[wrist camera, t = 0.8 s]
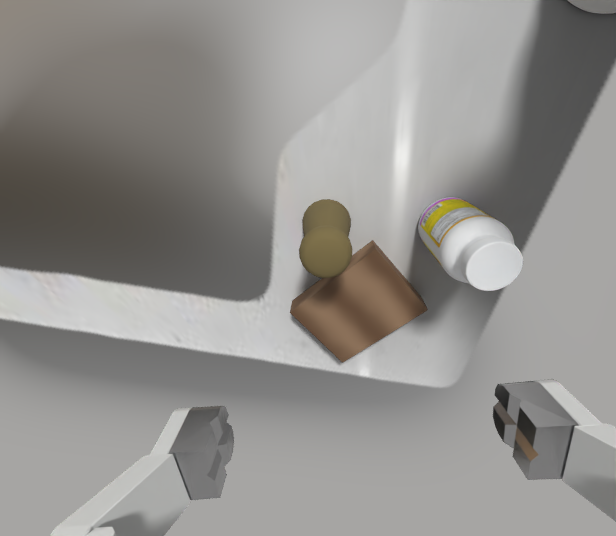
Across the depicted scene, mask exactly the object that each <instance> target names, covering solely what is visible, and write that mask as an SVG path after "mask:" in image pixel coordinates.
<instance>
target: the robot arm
mask: <svg viewBox="0 0 616 536" xmlns="http://www.w3.org/2000/svg"><path fill="white" fill-rule="evenodd" d="M568 1H569V2H570V3H571V4H573V5H574V6H576V7H578V8H580V9H582V10H585V11H588V12H592V13H600V14H610V13H616V0H568ZM495 396H496V397H497V399H498V400H499V402H498V403H497V404H496V405H495V406H494V407H493V419H494V423H495V427H496V429H497V431H498V434H499V435H500V437H501V439H502V440H503V442H504V443H506V444H508V445H509V446H510V447H512V448H514V451H513V458H514V459H515V461H516V462H517V464H518V465H519V467H520V469H521V470H522V472H523V473H524V475H525V476H526V478H527V479H528V480H535V479H562V481H564V482H565V483H566V484H568V485H569V486H570V487H571V488H573V489H574V490H575V491H577V492H578V493H579V494H580V495H582V496H583V497H585V498H586V499H587V500H588V501H590V502H591V503H593V504H594V505H595V506H596V507H597V508H599V509H600V510H601V511H603V512H604V513H606V514H607V515H608V516H609V517H611V518H612V519H613V520H615V521H616V427H614V426H612V425H610V424H602V423H601V422H600V421H599V420H598V419H597V418H595V417H594V416H593V415H592V414H591V413H590V412H589V411H588V410H587V409H586V408H585V407H584V406H583V405H582V404H581V403H580V402H579V401H578V400H577V399H576V398H575V397H574V396H573V395H572V394H571V393H569V392H568V391H567V390H566V389H565V388H564V387H563V386H562V385H561V384H560V383H559V382H558V381H556V380H554V379H548V380H538V381H528V382H517V383H505V384H498V385H497V387H496V389H495ZM227 418H228V412H227V409H226V407H225V406H210V407H193V408H180V409H176V410H175V411H174V412H173V413H172V415H171V417H170V418H169V420H168V422H167V424H166V426H165V428H164V430H163V431H162V433H161V435H160V437H159V439H158V440H157V443H156V444H155V446H154V448H153V449H152V451H151V453H150V455H146V456H143V457H142V458H141V459H140V460H138V461H137V462H136V463H135V464H133V465H132V466H131V467H130V468H129V469H127V470H126V471H125V472H124V473H123V474H121V475H120V476H119V477H117V478H116V479H115V480H114V481H113V482H111V483H110V484H109V485H108V486H106V487H105V488H104V489H103V490H101V491H100V492H99V493H98V494H96V495H95V496H94V497H93V498H92V499H90V500H89V501H88V502H87V503H85V504H84V505H83V506H82V507H81V508H79V509H78V510H77V511H75V513H73V514H72V515H71V516H69V517H68V518H67V519H66V520H65V521H63V522H62V523H61V524H59V525H58V526H57V527H56V528H55V529H54V531H53V532H52V533H51V535H50V536H164V535H165V534H166V532H167V531H168V530H169V529H170V527H171V526H172V525H173V524H174V522H175V521H176V520H177V519H178V517H179V516H180V515H181V514H182V513H183V511H184V510H185V509H186V508H187V506H188V505H189V504H190V503H191V501H190V500H198V499H210V498H220V496H221V492H222V489H223V485H224V482H225V478H226V475H227V474H226V471H225V467H224V466H225V465H226V464H227V463H228V462H229V461H230V460H231V456H232V453H233V445H234V437H233V430H232V426H231V425H229V424H228V423H227Z"/></svg>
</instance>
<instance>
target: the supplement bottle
mask: <svg viewBox="0 0 616 536" xmlns="http://www.w3.org/2000/svg"><path fill="white" fill-rule="evenodd" d="M418 231H419V235H420V238H421V239H422V241H423V243H424V244H425V245H426V247H427V248H428V249H429V250H430V252H431V253H432V254H433V255H434V257H435V258H436V259H437V261H438V262H439V263H440V265H441V266H442V267H443V269H444V270H445V271H446V272H447V273H448V274H449V275H450V276H451V277H452V278H454V279H456V280H458V281H461V282H464V283H470V284H471V285H472V286H473V287H475V288H477V289H479V290H483V291H494V290H498V289H501V288H503V287H506V286H507V285H509V284H510V283H512V282H513V281H514V280H515V279H516V278H517V276H518V275H519V273H520V271H521V269H522V266H523V257H522V254H521V252H520V250H519V249H518V248H517V247H516V246H515V244H514V239H513V236H512V233H511V232H510V230H509V229H508V228H507V227H506V226H505V225H504V224H503V223H501V222H500V221H498V220H496V219H495V218H493V217H491V216H490V215H488V214H486V213H485V212H483V211H481V210H480V209H478V208H476V207H475V206H473V205H471V204H470V203H468V202H466V201H464V200H462V199H460V198H455V197H447V198H442V199H439V200H437V201H435V202H433V203H432V204H430V205H429V206H428V207H427V208H426V209H425V210H424V212H423V213H422V215H421V217H420V220H419V224H418Z"/></svg>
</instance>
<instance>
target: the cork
mask: <svg viewBox="0 0 616 536" xmlns="http://www.w3.org/2000/svg"><path fill="white" fill-rule="evenodd" d="M302 221H303V231H304V238H303V239H302V242H301V245H300V249H299V254H300V259H301V262H302V264H303V266H304V268H305V269H306V270H307V271H308V272H309V273H311V274H312V275H314V276H317V277H321V278H331V277H335V276H338V275H339V274H341V273H342V272H344V271H345V269H346V268H347V267H348V266H349V264H350V261H351V258H352V246H351V243H350V240H349V238H348V235H349V231H350V227H351V219H350V216H349V213H348V211H347V210H346V208H345V207H344V206H343V205H342V204H340V203H339V202H337V201H334V200H330V199H327V200H320V201H317V202H314V203H313V204H312V205H311V206H309V207H308V209H307V210H306V212H305V213H304V217H303V220H302Z"/></svg>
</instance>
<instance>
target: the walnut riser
mask: <svg viewBox="0 0 616 536" xmlns="http://www.w3.org/2000/svg"><path fill="white" fill-rule="evenodd" d="M427 310H428V309H427V307H426V305H425V303H424V301H423V299H422V297H421V296H420V295H419V294H418V293H417V292H416V290H415V289H414V288H413V287H412V286H411V285H410V283H409V282H408V281H407V280H406V279H405V277H404V276H403V275H402V274H401V273H400V272H399V270H398V269H397V268H396V267H395V266H394V265H393V263H392V262H391V261H390V260H389V259H388V257H387V256H386V255H385V254H384V253H383V252H382V250H381V249H380V248H379V247H378V246H377V245H376V243H375V242H374V241H373V240H372V241H371V242H370V243H368V244H367V245H366V246H364V247H363V248H362V249H360V250H359V251H358V252H356V253H355V254H354V255H352V258H351V261H350V264H349V266H348V267H347V268H346V269H345V271H344V272H342V273H341V274H339V275H338V276H335V277H331V278H322V279H321V280H319V281H318V282H317V283H315V284H314V285H313V286H311V287H310V288H309V289H307V290H306V291H305V292H303V293H302V294H301V295H299V296H298V297H297V298H295V299H294V300H293V301H292V305H291V310H290V313H291V314H292V315H293V316H294V317H295V318H296V319H297V320H298V321H299V322H300V323H301V324H302V325H303V326H305V327H306V328H307V329H308V330H309V331H310V332H311V333H312V334H313V335H314V336H315V337H316V338H317V339H318V340H319V341H320V342H321V343H322V344H323V345H325V346H326V347H327V348H328V349H329V350H330V351H331V352H332V353H333V354H334V355H335V356H336V357H337V358H338V359H339V360H340V361H341V362H342V363H343V362H344V361H346V360H348V359H349V358H351V357H353V356H354V355H356V354H357V353H359V352H361V351H362V350H364V349H365V348H367V347H369V346H370V345H372V344H374V343H375V342H377V341H378V340H380V339H382V338H383V337H385V336H386V335H388V334H390V333H391V332H393V331H395V330H396V329H398V328H399V327H401V326H403V325H404V324H406V323H407V322H409V321H411V320H412V319H414V318H416V317H417V316H419V315H420V314H422V313H424V312H425V311H427Z"/></svg>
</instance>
